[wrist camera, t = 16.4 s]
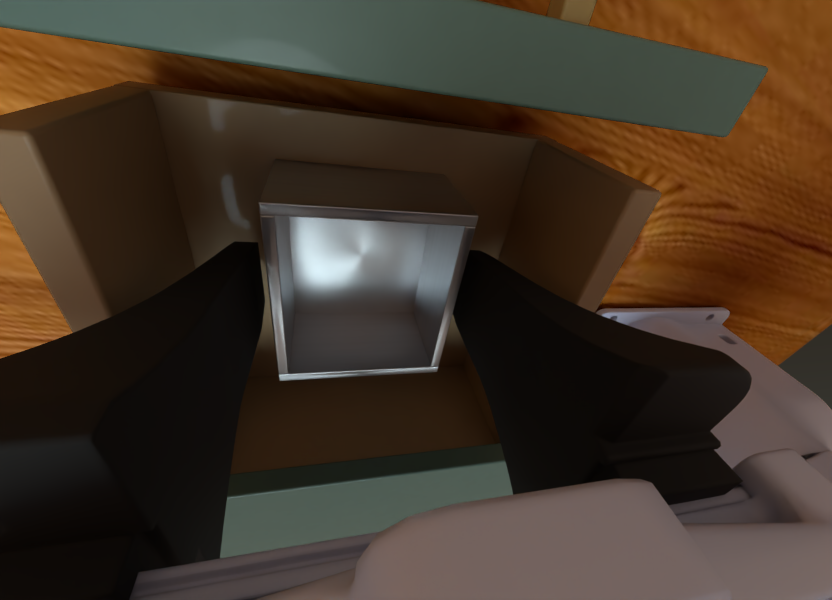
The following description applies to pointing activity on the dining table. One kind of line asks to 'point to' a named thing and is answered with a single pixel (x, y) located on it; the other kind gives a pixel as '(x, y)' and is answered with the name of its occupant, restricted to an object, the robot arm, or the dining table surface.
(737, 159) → the dining table surface
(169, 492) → the robot arm
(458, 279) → the open metal box
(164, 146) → the drawer
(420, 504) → the cabinet
